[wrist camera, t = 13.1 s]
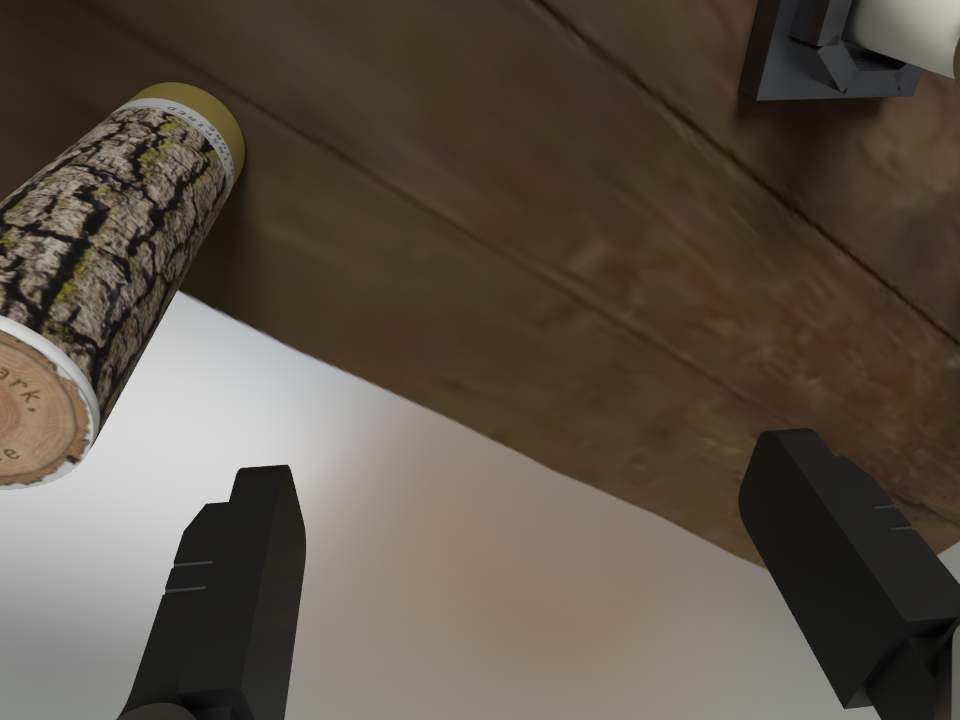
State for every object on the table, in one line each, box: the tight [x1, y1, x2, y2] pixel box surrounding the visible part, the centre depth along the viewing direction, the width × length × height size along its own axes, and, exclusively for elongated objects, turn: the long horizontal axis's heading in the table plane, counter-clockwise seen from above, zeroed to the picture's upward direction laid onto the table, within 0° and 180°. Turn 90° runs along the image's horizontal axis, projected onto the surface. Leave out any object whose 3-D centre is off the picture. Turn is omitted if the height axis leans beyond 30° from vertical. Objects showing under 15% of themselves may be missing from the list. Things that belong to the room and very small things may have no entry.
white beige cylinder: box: [841, 0, 960, 87], centre depth 31 cm, size 5×5×12 cm
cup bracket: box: [738, 0, 927, 101], centre depth 36 cm, size 10×10×6 cm
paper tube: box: [0, 82, 245, 490], centre depth 29 cm, size 7×7×25 cm
